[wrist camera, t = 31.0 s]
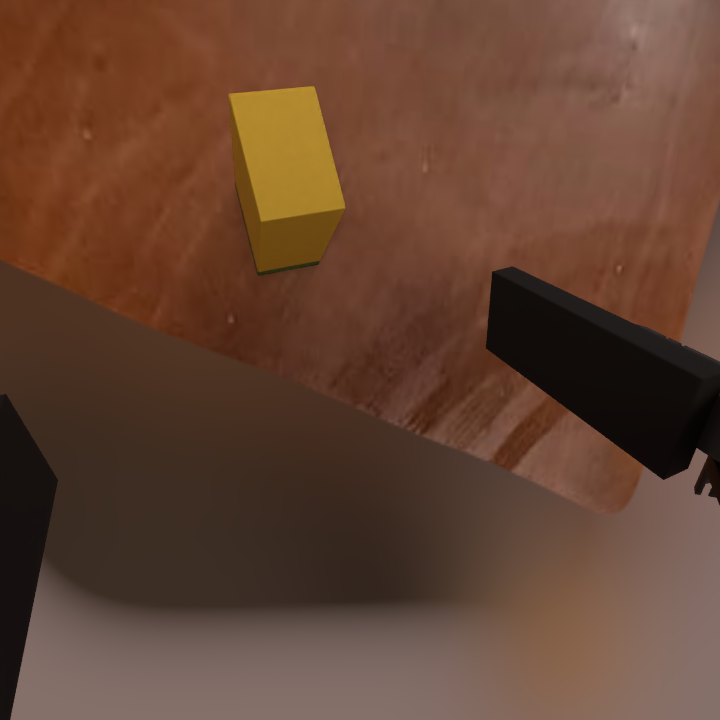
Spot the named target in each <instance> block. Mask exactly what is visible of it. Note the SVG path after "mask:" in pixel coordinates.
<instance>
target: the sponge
mask: <svg viewBox="0 0 720 720" xmlns="http://www.w3.org/2000/svg"><path fill="white" fill-rule="evenodd" d="M229 106H230V120H231V133H232V147H233V161H234V175H235V186H236V190H237V194H238V198H239V202H240V206H241V210H242V214H243V218H244V222H245V226H246V230H247V234H248V238H249V242H250V246H251V250H252V254H253V258H254V262H255V266H256V270H257V274H258V275H264V274H270V273H275V272H280V271H285V270H291V269H296V268H301V267H307V266H312V265H317V264H319V262H320V260H321V258H322V256H323V254H324V252H325V250H326V248H327V246H328V244H329V242H330V239H331V237H332V235H333V233H334V231H335V229H336V227H337V225H338V223H339V221H340V219H341V217H342V215H343V213H344V211H345V209H346V206H345V203H344V199H343V195H342V191H341V187H340V183H339V179H338V175H337V172H336V168H335V164H334V160H333V156H332V152H331V148H330V144H329V141H328V137H327V133H326V129H325V125H324V121H323V117H322V113H321V110H320V106H319V102H318V98H317V94H316V90H315V87H314V86H310V87H299V88H288V89H277V90H267V91H256V92H245V93H234V94H229Z"/></svg>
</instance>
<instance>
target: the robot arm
mask: <svg viewBox="0 0 720 720" xmlns="http://www.w3.org/2000/svg"><path fill="white" fill-rule="evenodd" d="M486 349H488V350H489V351H490V352H492V353H493V354H495V355H496V356H497V357H499V358H500V359H501V360H503V361H504V362H505V363H507V364H508V365H509V366H511V367H512V368H513V369H515V370H516V371H517V372H519V373H520V374H521V375H523V376H524V377H525V378H527V379H528V380H530V381H531V382H532V383H534V384H535V385H536V386H538V387H539V388H540V389H542V390H543V391H544V392H546V393H547V394H548V395H550V396H551V397H552V398H554V399H555V400H556V401H558V402H559V403H560V404H562V405H563V406H565V407H566V408H567V409H569V410H570V411H571V412H573V413H574V414H575V415H577V416H578V417H579V418H581V419H582V420H583V421H585V422H586V423H587V424H589V425H590V426H591V427H593V428H594V429H596V430H597V431H598V432H600V433H601V434H602V435H604V436H605V437H606V438H608V439H609V440H610V441H612V442H613V443H614V444H616V445H617V446H618V447H620V448H621V449H622V450H624V451H625V452H626V453H628V454H629V455H631V456H632V457H633V458H635V459H636V460H637V461H639V462H640V463H641V464H643V465H644V466H645V467H647V468H648V469H650V470H651V471H652V472H653V473H655V474H657V476H659V477H660V478H662V479H663V480H665V479H667V478H669V477H671V476H673V475H675V474H677V473H680V472H682V471H684V470H685V469H688V467H689V464H690V462H691V460H692V457H693V455H694V453H695V450H696V448H698V449H699V450H701V451H702V452H704V453H705V454H707V455H708V458H707V460H706V462H705V464H704V467H703V469H702V471H701V473H700V475H699V478H698V480H697V482H696V485H695V487H694V490H695V494H697V495H700V494H701V493H702V490H703V488H704V486H705V484H707V483H711V485H712V488H711V490H710V493H709V495H708V496H710V497H716V498H717V500H718V502H719V505H720V362H719V361H717V360H715V359H713V358H711V357H709V356H707V355H704V354H702V353H700V352H698V351H696V350H694V349H691V348H689V347H687V346H682V345H681V343H679V342H677V341H675V340H672V339H670V338H668V339H666V336H664V335H662V334H660V333H658V332H655V331H653V330H651V329H649V328H647V327H643V326H640V325H636V324H633V323H631V322H629V321H627V320H625V319H623V318H621V317H619V316H616V315H614V314H612V313H610V312H608V311H606V310H604V309H602V308H600V307H597V306H595V305H593V304H591V303H589V302H587V301H585V300H583V299H580V298H578V297H576V296H574V295H572V294H570V293H568V292H566V291H564V290H561V289H559V288H557V287H555V286H553V285H551V284H549V283H547V282H545V281H542V280H540V279H538V278H536V277H534V276H532V275H530V274H528V273H526V272H523V271H521V270H519V269H517V268H515V267H509V268H505V269H501V270H497V271H493V272H492V281H491V293H490V306H489V318H488V330H487V342H486ZM57 482H58V479H57V478H56V476H55V474H54V473H53V471H52V469H51V468H50V466H49V465H48V463H47V461H46V459H45V458H44V456H43V455H42V453H41V451H40V450H39V448H38V446H37V445H36V443H35V441H34V440H33V438H32V437H31V435H30V433H29V432H28V430H27V428H26V426H25V425H24V423H23V421H22V420H21V418H20V416H19V415H18V413H17V412H16V410H15V408H14V407H13V405H12V403H11V402H10V400H9V398H8V397H7V395H6V394H4V395H0V720H10V717H11V713H12V708H13V703H14V698H15V693H16V688H17V682H18V677H19V672H20V667H21V662H22V657H23V652H24V647H25V642H26V637H27V632H28V627H29V622H30V617H31V612H32V607H33V602H34V597H35V592H36V587H37V582H38V577H39V572H40V567H41V562H42V557H43V552H44V547H45V542H46V537H47V532H48V527H49V522H50V517H51V512H52V507H53V502H54V497H55V492H56V487H57Z"/></svg>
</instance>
